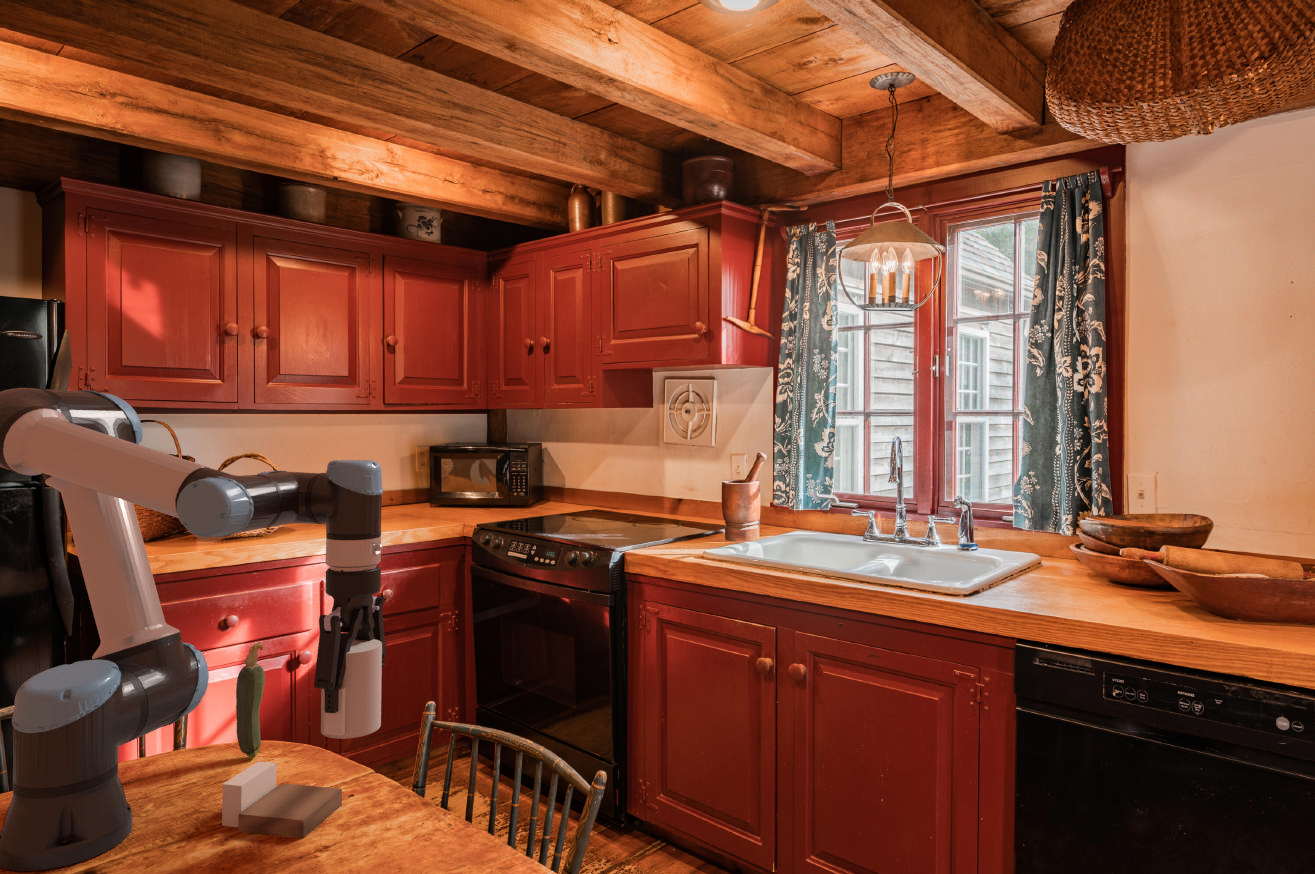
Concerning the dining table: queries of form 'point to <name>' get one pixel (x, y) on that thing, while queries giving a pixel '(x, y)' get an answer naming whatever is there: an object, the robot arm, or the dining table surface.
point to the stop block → (246, 790)
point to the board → (290, 810)
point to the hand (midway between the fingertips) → (351, 722)
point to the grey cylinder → (360, 690)
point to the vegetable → (249, 703)
